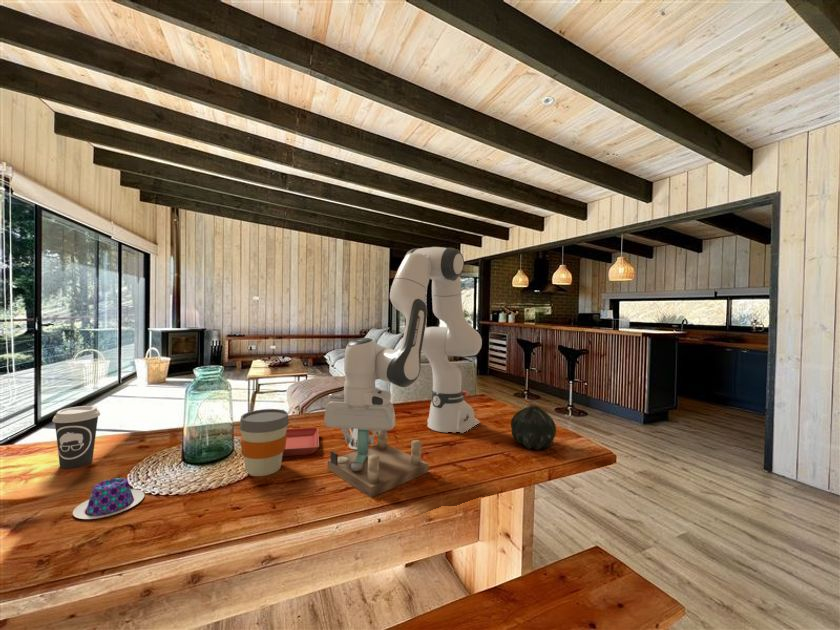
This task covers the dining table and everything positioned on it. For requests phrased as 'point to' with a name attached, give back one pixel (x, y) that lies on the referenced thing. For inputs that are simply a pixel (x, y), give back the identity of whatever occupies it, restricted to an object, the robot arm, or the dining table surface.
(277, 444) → the reusable coffee cup
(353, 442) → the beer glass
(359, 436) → the folding leg
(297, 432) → the plant saucer
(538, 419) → the squash
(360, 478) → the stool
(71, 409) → the coffee cup
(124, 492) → the purple patterned hat
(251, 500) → the dining table surface
